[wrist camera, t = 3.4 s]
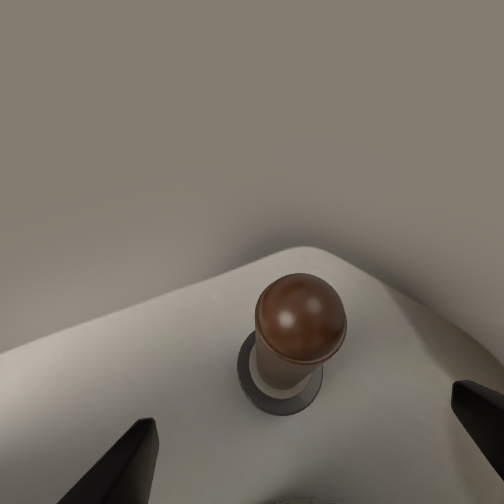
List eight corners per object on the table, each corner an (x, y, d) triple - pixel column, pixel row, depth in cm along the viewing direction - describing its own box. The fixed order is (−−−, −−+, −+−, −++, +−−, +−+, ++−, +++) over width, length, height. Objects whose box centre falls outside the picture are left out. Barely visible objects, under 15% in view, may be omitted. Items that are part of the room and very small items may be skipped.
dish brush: (278, 435, 15) (327, 486, 4) (225, 371, 17) (170, 297, 6) (328, 373, 16) (449, 301, 6) (275, 321, 18) (296, 198, 8)
